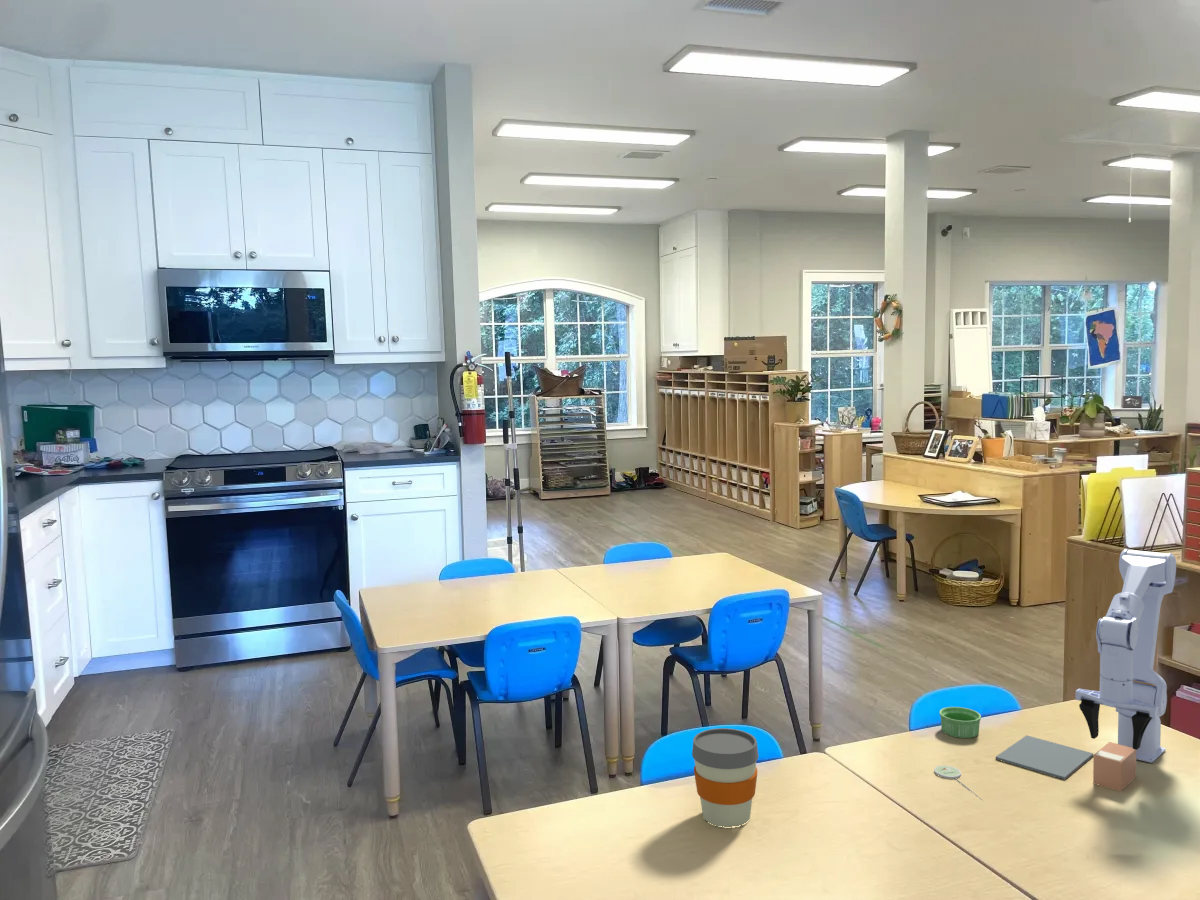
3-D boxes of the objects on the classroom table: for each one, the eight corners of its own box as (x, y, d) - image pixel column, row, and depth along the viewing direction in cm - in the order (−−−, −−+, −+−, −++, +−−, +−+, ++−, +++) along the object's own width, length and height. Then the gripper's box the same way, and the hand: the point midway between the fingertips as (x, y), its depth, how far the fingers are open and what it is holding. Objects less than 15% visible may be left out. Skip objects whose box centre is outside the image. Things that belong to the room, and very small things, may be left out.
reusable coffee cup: (758, 836, 159) (757, 756, 158) (690, 830, 161) (688, 752, 160) (760, 803, 171) (759, 729, 170) (696, 799, 173) (694, 726, 172)
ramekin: (944, 739, 199) (944, 720, 199) (935, 723, 208) (935, 706, 207) (985, 740, 197) (985, 721, 197) (975, 725, 206) (975, 707, 206)
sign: (971, 801, 169) (929, 766, 184) (971, 805, 169) (929, 770, 184) (995, 798, 170) (952, 764, 184) (995, 802, 170) (952, 768, 184)
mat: (1026, 737, 198) (1026, 735, 198) (1093, 756, 188) (1093, 753, 187) (995, 759, 187) (995, 756, 187) (1064, 779, 177) (1064, 777, 177)
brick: (1108, 769, 181) (1109, 741, 181) (1135, 777, 177) (1136, 748, 177) (1093, 783, 175) (1093, 754, 175) (1120, 791, 171) (1121, 761, 171)
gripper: (1070, 673, 177) (1069, 737, 178) (1150, 690, 167) (1149, 759, 168) (1082, 665, 182) (1082, 728, 183) (1162, 681, 171) (1161, 748, 172)
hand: (1115, 742), depth 176 cm, fingers open, 7 cm apart
